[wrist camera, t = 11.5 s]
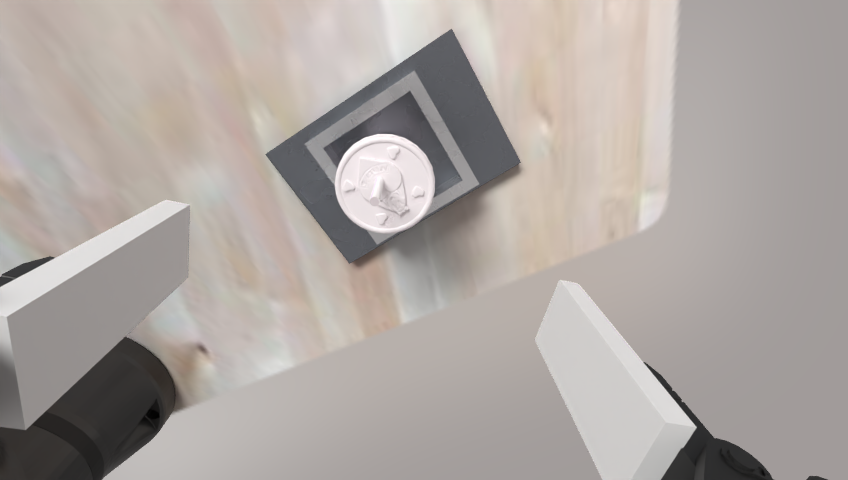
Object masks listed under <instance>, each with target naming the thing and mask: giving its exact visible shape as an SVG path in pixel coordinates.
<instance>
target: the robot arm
mask: <svg viewBox="0 0 848 480" xmlns="http://www.w3.org/2000/svg"><path fill="white" fill-rule="evenodd" d="M189 224H190V205H189V204H184V203H180V202H175V201H170V200H164V201H162V202H160V203H158V204H156V205H155V206H153V207H151V208H149V209H147V210H145V211H143V212H141V213H139V214H137V215H136V216H134V217H132V218H130V219H128V220H126V221H124V222H122V223H120V224H119V225H117V226H115V227H113V228H111V229H109V230H107V231H105V232H103V233H102V234H100V235H98V236H96V237H94V238H92V239H90V240H88V241H86V242H85V243H83V244H81V245H79V246H77V247H75V248H73V249H71V250H69V251H68V252H66V253H64V254H62V255H60V256H58V257H56V258H55V257H46V258H42V259H39V260H35V261H31V262H28V263H24V264H22V265H20V266H18V267H16V268H14V269H12V270H10V271H8V272H6V273H4V274H2V276H1V277H0V480H102V479H103V478H104V477H105V476H106V475H107V474H109V473H110V472H111V471H112V470H114V469H115V468H116V467H118V466H119V465H120V464H121V463H123V462H124V461H125V460H127V459H128V458H129V457H130V456H132V455H133V454H134V453H135V452H137V451H138V450H139V449H140V448H142V447H143V446H144V445H146V444H147V443H148V442H149V441H151V440H152V439H153V438H154V437H155V435H156V434H157V433H158V432H159V431H160V429H161V428H162V426H163V425H164V424H165V422H166V421H167V419H168V418H169V416H170V415H171V413H172V410H173V408H174V403H175V391H174V386H173V383H172V380H171V378H170V376H169V374H168V372H167V371H166V369H165V368H164V366H163V365H162V364H161V363H160V362H159V360H158V359H157V358H156V357H155V356H154V355H152V354H151V353H150V352H149V351H148V350H146V349H145V348H143V347H142V346H140V345H139V344H137V343H136V342H134V341H132V340H130V339H128V338H126V337H125V336H126V335H127V334H128V333H129V332H130V331H131V330H133V329H134V328H135V327H136V326H137V325H138V324H139V323H140V322H141V321H142V320H143V319H144V318H145V317H146V316H147V315H148V314H150V313H151V312H152V311H153V310H154V309H155V308H156V307H157V306H158V305H159V304H160V303H161V302H162V301H163V300H164V299H166V298H167V297H168V296H169V295H170V294H171V293H172V292H173V291H174V290H175V289H176V288H177V287H178V286H179V285H180V284H181V283H183V282H184V281H185V280H186V279H187V278H188V262H189ZM535 342H536V343H537V346H538V348H539V350H540V352H541V354H542V356H543V358H544V360H545V362H546V364H547V366H548V368H549V370H550V373H551V375H552V377H553V379H554V381H555V383H556V385H557V387H558V389H559V391H560V393H561V395H562V397H563V399H564V401H565V403H566V406H567V408H568V410H569V412H570V414H571V416H572V418H573V420H574V422H575V424H576V426H577V428H578V430H579V433H580V434H581V436H582V438H583V441H584V443H585V445H586V447H587V449H588V451H589V453H590V455H591V457H592V459H593V461H594V463H595V466H596V468H597V470H598V472H599V474H600V476H601V478H602V480H773V479H772V477H771V475H770V473H769V472H768V471H767V470H766V468H765V467H764V466H763V465H762V464H761V463H760V462H759V461H758V460H757V459H755V458H754V457H753V456H752V455H750V454H749V453H748V452H746V451H745V450H743V449H742V448H740V447H739V446H736V445H734V444H732V443H730V442H727V441H725V440H720V439H717V438H716V439H715V438H714V437H713V436H712V435H711V434H710V433H709V431H708V430H707V429H706V428H705V427H704V426H703V424H702V423H701V422H700V421H699V419H698V418H697V417H696V416H695V415H694V414H693V413H692V411H691V410H690V409H689V408H688V407H687V405H686V404H685V403H684V402H681V400H682V399H681V398H680V397H679V396H678V395H677V393H676V392H675V391H672V388H671V386H670V385H669V384H668V383H667V382H666V380H665V379H664V378H663V377H662V376H661V375H660V374H659V373H658V372H656V371H655V370H654V369H653V368H651V367H650V366H649V365H648V364H646V363H645V362H643V361H642V360H641V359H640V358H639V357H638V355H637V354H636V353H635V352H634V351H633V349H632V348H631V347H630V346H629V344H628V343H627V342H626V341H625V340H624V338H623V337H622V336H621V335H620V333H619V332H618V331H617V330H616V329H615V327H614V326H613V325H612V324H611V323H610V321H609V320H608V319H607V318H606V316H605V315H604V314H603V313H602V312H601V310H600V309H599V308H598V307H597V305H595V303H594V302H593V301H592V299H591V298H590V297H589V296H588V294H587V293H586V292H585V291H584V290H583V288H582V287H581V286H580V285H579V284H578V283H573V282H568V281H563V280H559V282H558V285H557V287H556V290H555V292H554V294H553V297H552V299H551V302H550V304H549V306H548V309H547V312H546V314H545V316H544V319H543V321H542V324H541V326H540V328H539V331H538V333H537V336H536V338H535ZM807 480H827V479H824V478H821V477H818V476H809V477H808V479H807Z"/></svg>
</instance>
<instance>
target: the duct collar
mask: <svg viewBox="0 0 848 480" xmlns="http://www.w3.org/2000/svg"><path fill="white" fill-rule="evenodd" d="M376 134H393V135H396V136H400V137H403V138H406V139H407V140H409V141H411V142H412V143H414V144H416V145H417V146H418V147H419V148H420V149H421V150H422V151H423V152H424V153H425V154H426V156H427V158H428V160H429V161H430V163H431V165H432V168H433V172H434V176H435V192H434V197H433V201H432V204H431V206H430V208H429V210H428V212H427V213H426V214H425V216H424V217H423V218H422V219H421V220H420V221H419V222H421V221H422V220H424V219H426V218H427V217H429V216H431V215H433V214H434V213H436V212H438V211H439V210H441V209H443V208H444V207H446V206H448V205H449V204H451V203H453V202H455V201H456V200H458V199H460V198H461V197H463V196H465V195H466V194H468V193H470V192H472V191H473V190H475V189H477V188H478V187H480V186H482V185H483V184H485V183H487V182H488V181H490V180H492V179H494V178H495V177H497V176H499V175H500V174H502V173H504V172H505V171H507V170H509V169H510V168H512V167H514V166H516V165H517V164H519V163H521V162H520V160H519V158H518V156H517V154H516V152H515V150H514V148H513V146H512V145H511V143H510V141H509V139H508V137H507V135H506V133H505V131H504V129H503V127H502V125H501V123H500V121H499V119H498V117H497V116H496V114H495V112H494V110H493V108H492V106H491V104H490V102H489V100H488V98H487V96H486V94H485V92H484V90H483V88H482V87H481V85H480V83H479V81H478V79H477V77H476V75H475V73H474V71H473V69H472V67H471V65H470V63H469V61H468V59H467V58H466V56H465V54H464V52H463V50H462V48H461V46H460V44H459V42H458V40H457V38H456V36H455V34H454V32H453V30H452V29H451V30H449V31H448V32H446V33H445V34H443V35H442V36H440V37H439V38H437V39H436V40H434V41H433V42H431V43H430V44H428V45H427V46H425V47H424V48H422V49H421V50H420V51H418V52H417V53H415V54H414V55H412V56H411V57H409V58H408V59H406V60H405V61H403V62H402V63H400V64H399V65H397V66H396V67H394V68H393V69H391V70H390V71H388V72H387V73H385V74H384V75H382V76H381V77H379V78H378V79H376V80H375V81H374V82H372V83H371V84H369V85H368V86H366V87H365V88H363V89H362V90H360V91H359V92H357V93H356V94H354V95H353V96H351V97H350V98H348V99H347V100H345V101H344V102H342V103H341V104H339V105H338V106H336V107H335V108H333V109H332V110H330V111H329V112H328V113H326V114H325V115H323V116H322V117H320V118H319V119H317V120H316V121H314V122H313V123H311V124H310V125H308V126H307V127H305V128H304V129H302V130H301V131H299V132H298V133H296V134H295V135H293V136H292V137H290V138H289V139H287V140H286V141H284V142H283V143H282V144H280V145H279V146H277V147H276V148H274V149H273V150H271V151H270V152H268V153H267V154H266V156H267V157H268V158H269V160H270V161H271V162H272V164H273V165H274V166H275V167H276V169H277V170H278V171H279V173H280V174H281V175H282V177H283V178H284V179H285V180H286V182H287V183H288V184H289V186H290V187H291V188H292V190H293V191H294V192H295V193H296V195H297V196H298V197H299V199H300V200H301V201H302V203H303V204H304V205H305V206H306V208H307V209H308V210H309V212H310V213H311V214H312V216H313V217H314V218H315V219H316V221H317V222H318V223H319V225H320V226H321V227H322V229H323V230H324V231H325V232H326V234H327V235H328V236H329V238H330V239H331V240H332V242H333V243H334V244H335V245H336V247H337V248H338V249H339V251H340V252H341V253H342V255H343V256H344V257H345V258H346V260H347V261H348V262H349V264H350V263H351V262H353V261H355V260H356V259H358V258H360V257H361V256H363V255H365V254H366V253H368V252H370V251H372V250H373V249H375V248H377V247H378V246H380V245H382V244H383V243H385V242H387V241H388V240H390V239H392V238H394V237H395V236H397V235H399V234H400V233H402V232H404V231H405V230H404V231H401V232H397V233H390V234H382V233H375V232H371V231H368V230H366V229H364V228H362V227H360V226H358V225H357V224H355V223H354V222H353V221H352V220H350V219H349V217H348V216H347V215H346V214H345V213H344V211H343V210H342V208H341V206H340V204H339V202H338V199H337V196H336V191H335V177H336V172H337V169H338V166H339V163H340V161H341V160H342V158H343V156H344V154H345V153H346V152H347V151H348V150H349V148H350V147H351V146H352V145H353V144H355V143H356V142H358V141H360V140H362V139H363V138H365V137H369V136H372V135H376ZM419 222H418V223H419ZM416 224H417V223H416ZM416 224H415V225H416ZM410 228H411V227H410ZM408 229H409V228H408ZM406 230H407V229H406Z"/></svg>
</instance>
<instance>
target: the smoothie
mask: <svg viewBox="0 0 848 480" xmlns="http://www.w3.org/2000/svg"><path fill="white" fill-rule="evenodd" d="M335 191H336V196H337V199H338V202H339V204H340V206H341V208H342V210H343V211H344V213H345V214H346V215H347V216H348V217H349V219H350V220H352V221H353V222H354V223H355V224H357V225H358V226H360V227H362V228H364V229H366V230H368V231H371V232H375V233H382V234H390V233H397V232H401V231H404V230H406V229H408V228H410V227H412V226H414V225H415V224H416V223H418V222H419V221H420V220H421V219H422V218H423V217H424V216H425V214H426V213H427V212H428V210H429V208H430V206H431V204H432V201H433V197H434V192H435V176H434V172H433V168H432V165H431V163H430V161H429V160H428V158H427V156H426V154H425V153H424V152H423V151H422V150H421V149H420V148H419V147H418V146H417V145H416V144H414V143H412V142H411V141H409V140H407V139H406V138H403V137H400V136H396V135H393V134H376V135H372V136H369V137H365V138H363V139H362V140H360V141H358V142H356V143H355V144H353V145H352V146H351V147H350V148H349V150H348V151H347V152H346V153H345V154H344V156H343V158H342V160H341V161H340V163H339V166H338V169H337V172H336V177H335Z"/></svg>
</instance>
